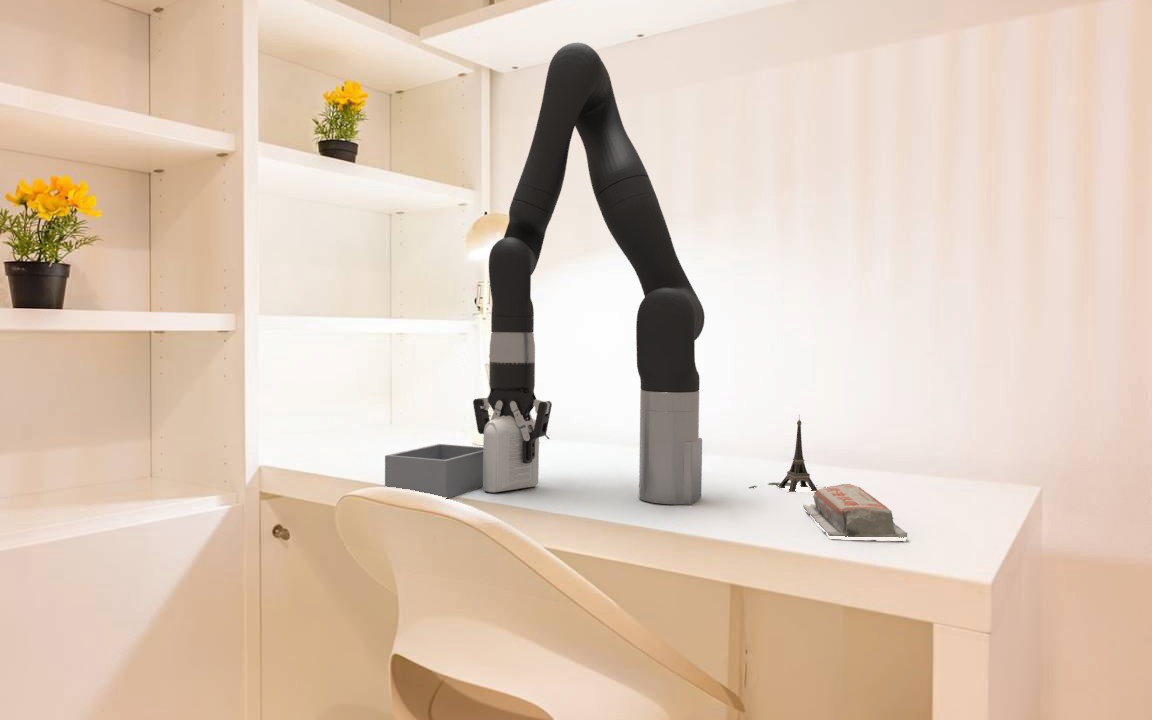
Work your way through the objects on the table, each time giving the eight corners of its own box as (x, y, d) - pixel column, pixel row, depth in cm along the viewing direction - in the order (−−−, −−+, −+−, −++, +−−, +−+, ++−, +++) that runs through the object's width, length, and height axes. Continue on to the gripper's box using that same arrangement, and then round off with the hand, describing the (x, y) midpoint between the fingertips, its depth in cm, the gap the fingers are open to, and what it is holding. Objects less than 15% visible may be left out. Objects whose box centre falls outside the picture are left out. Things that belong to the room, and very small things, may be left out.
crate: (495, 482, 140) (495, 448, 140) (445, 499, 126) (446, 460, 125) (438, 477, 144) (439, 443, 144) (384, 492, 130) (385, 455, 130)
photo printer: (525, 483, 139) (525, 411, 139) (542, 486, 136) (542, 413, 136) (478, 491, 132) (479, 415, 132) (495, 494, 129) (496, 417, 129)
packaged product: (910, 508, 102) (830, 506, 103) (909, 546, 102) (829, 544, 103) (871, 482, 120) (802, 480, 121) (870, 514, 120) (802, 512, 121)
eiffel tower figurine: (853, 493, 137) (855, 414, 136) (834, 503, 129) (836, 419, 128) (769, 483, 145) (770, 409, 145) (746, 491, 137) (747, 413, 137)
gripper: (561, 360, 134) (560, 461, 135) (486, 358, 140) (485, 455, 140) (541, 361, 127) (540, 468, 128) (463, 359, 133) (462, 461, 134)
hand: (511, 461), depth 134 cm, fingers closed on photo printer, 5 cm apart
